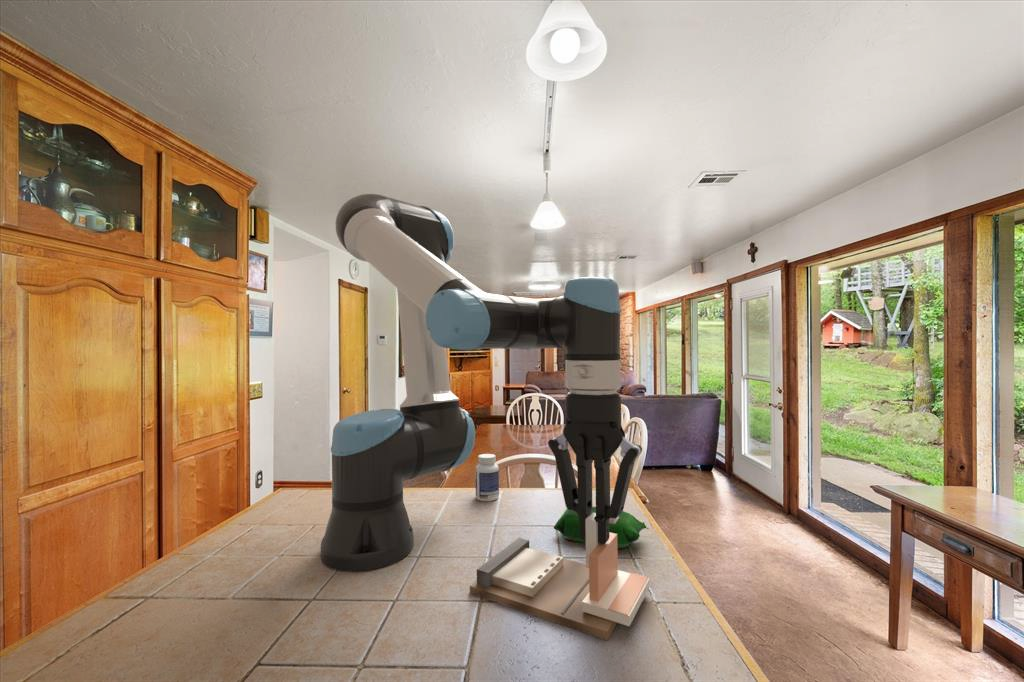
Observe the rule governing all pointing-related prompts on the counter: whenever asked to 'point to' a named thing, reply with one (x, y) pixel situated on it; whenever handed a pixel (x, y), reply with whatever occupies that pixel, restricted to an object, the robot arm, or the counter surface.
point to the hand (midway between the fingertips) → (594, 564)
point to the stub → (613, 586)
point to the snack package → (622, 526)
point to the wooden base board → (540, 587)
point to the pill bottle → (487, 478)
